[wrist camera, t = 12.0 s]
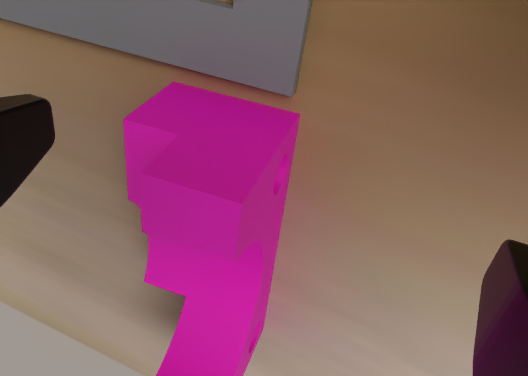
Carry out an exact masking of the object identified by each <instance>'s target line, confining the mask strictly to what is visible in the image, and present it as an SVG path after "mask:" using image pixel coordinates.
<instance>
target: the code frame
mask: <svg viewBox="0 0 528 376" xmlns="http://www.w3.org/2000/svg"><path fill="white" fill-rule="evenodd" d="M311 5H312V0H234V2H233V5H232V4H228V3H224V2H220V1H215V0H0V18H1V19H5V20H9V21H12V22H16V23H20V24H24V25H27V26H31V27H35V28H38V29H42V30H46V31H49V32H53V33H57V34H61V35H64V36H68V37H72V38H75V39H79V40H83V41H86V42H90V43H94V44H98V45H101V46H105V47H109V48H112V49H116V50H120V51H123V52H127V53H131V54H135V55H138V56H142V57H146V58H149V59H153V60H157V61H160V62H164V63H168V64H172V65H175V66H179V67H183V68H186V69H190V70H194V71H197V72H201V73H205V74H208V75H212V76H216V77H220V78H223V79H227V80H231V81H234V82H238V83H242V84H245V85H249V86H253V87H257V88H260V89H264V90H268V91H271V92H275V93H279V94H282V95H286V96H290V97H292V96H293V95H294V93H295V92H296V87H297V81H298V76H299V70H300V65H301V60H302V54H303V49H304V43H305V38H306V32H307V27H308V22H309V16H310V11H311Z"/></svg>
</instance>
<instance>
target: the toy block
mask: <svg viewBox="0 0 528 376" xmlns="http://www.w3.org/2000/svg"><path fill="white" fill-rule="evenodd" d="M299 118H300V114H297V113H294V112H290V111H286V110H282V109H278V108H274V107H270V106H266V105H262V104H258V103H255V102H251V101H247V100H243V99H239V98H235V97H231V96H227V95H223V94H219V93H216V92H212V91H208V90H204V89H200V88H196V87H192V86H188V85H184V84H180V83H177V82H172V83H171V84H170V85H168V86H167V87H166V88H164V89H163V90H162V91H160V92H159V93H158V94H156V95H155V96H154V97H152V98H151V99H150V100H148V101H147V102H146V103H144V104H143V105H142V106H140V107H139V108H138V109H136V110H135V111H133V112H132V113H131V114H129V115H128V116H127V117H125V118H124V119H123V121H124V137H125V153H126V169H127V185H128V200H130V201H132V202H134V203H135V204H136V205H137V206H138V207H139V208H140V209H141V218H142V232H143V233H146V234H148V235H149V253H148V263H147V269H146V274H145V279H144V282H146V283H149V284H151V285H154V286H157V287H160V288H163V289H166V290H168V291H171V292H174V293H177V294H180V295H183V296H185V297H186V298H185V302H184V306H183V309H182V312H181V316H180V319H179V322H178V325H177V328H176V330H175V333H174V336H173V338H172V341H171V343H170V346H169V348H168V351H167V353H166V355H165V358H164V360H163V362H162V364H161V366H160V368H159V370H158V372H157V374H156V376H243V375H244V372H245V370H246V368H247V365H248V363H249V361H250V358H251V356H252V354H253V351H254V349H255V347H256V344H257V342H258V340H259V337H260V335H261V333H262V331H263V326H264V321H265V315H266V309H267V303H268V297H269V292H270V286H271V280H272V274H273V269H274V263H275V257H276V251H277V245H278V240H279V234H280V228H281V222H282V217H283V211H284V205H285V199H286V193H287V188H288V182H289V176H290V170H291V164H292V159H293V153H294V147H295V141H296V136H297V130H298V124H299Z"/></svg>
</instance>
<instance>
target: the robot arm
mask: <svg viewBox="0 0 528 376" xmlns="http://www.w3.org/2000/svg"><path fill="white" fill-rule="evenodd" d="M54 140H55V130H54V123H53V116H52V109H51V105H50V103H49V101H47V100H46V99H44V98H41V97H38V96H34V95H31V94H24V95H16V96H8V97H0V207H1V206H2V205H3V204H4V203H5V202H6V201H7V200H8V199H9V198H10V197H11V196H12V194H13V193H14V192H15V191H16V190H17V189H18V187H19V186H20V185H21V184H22V182H23V181H24V180H25V179H26V177H27V176H28V175H29V174H30V173H31V171H32V170H33V169H34V168H35V166H36V165H37V164H38V163H39V162H40V160H41V159H42V158H43V157H44V155H45V154H46V153H47V152H48V151H49V149H50V148H51V147H52V145H53V143H54ZM473 376H528V245H527V244H524V243H521V242H517V241H514V240H506V241H504V242H503V244H502V245H501V246H500V248H499V250H498V252H497V253H496V255H495V257H494V259H493V260H492V262H491V264H490V266H489V267H488V269H487V271H486V273H485V275H484V278H483V281H482V286H481V295H480V303H479V312H478V320H477V329H476V337H475V345H474V355H473Z"/></svg>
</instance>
